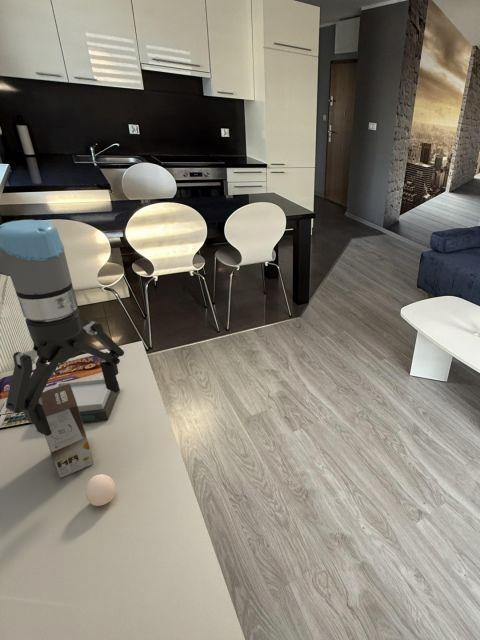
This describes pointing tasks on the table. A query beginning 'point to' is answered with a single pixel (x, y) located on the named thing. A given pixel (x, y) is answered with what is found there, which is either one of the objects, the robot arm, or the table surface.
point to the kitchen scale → (92, 399)
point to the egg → (100, 490)
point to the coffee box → (65, 430)
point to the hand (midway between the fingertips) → (81, 409)
